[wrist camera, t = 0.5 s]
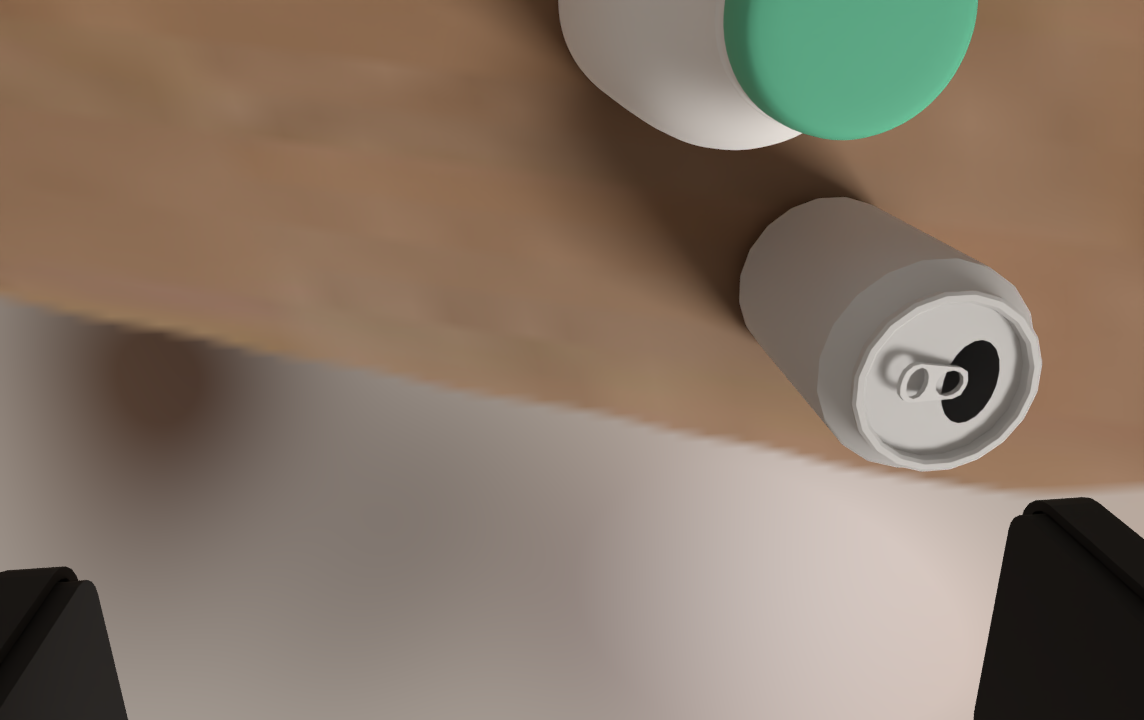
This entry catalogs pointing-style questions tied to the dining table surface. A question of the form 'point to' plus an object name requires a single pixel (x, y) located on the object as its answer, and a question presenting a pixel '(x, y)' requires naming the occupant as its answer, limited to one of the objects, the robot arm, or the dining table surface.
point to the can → (891, 334)
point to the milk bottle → (769, 63)
